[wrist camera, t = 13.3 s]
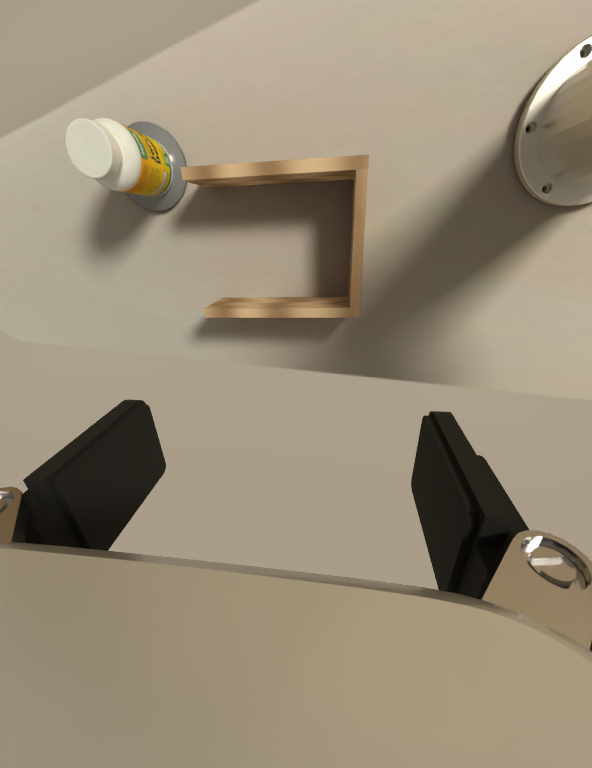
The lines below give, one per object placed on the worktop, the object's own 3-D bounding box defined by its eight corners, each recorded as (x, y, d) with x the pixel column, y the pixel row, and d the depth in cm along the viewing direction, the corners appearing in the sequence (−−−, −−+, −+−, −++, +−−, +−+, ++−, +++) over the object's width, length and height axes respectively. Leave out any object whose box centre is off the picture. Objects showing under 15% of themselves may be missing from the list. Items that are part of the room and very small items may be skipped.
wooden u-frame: (364, 167, 31) (368, 154, 26) (356, 305, 38) (359, 317, 32) (205, 177, 34) (180, 167, 28) (223, 305, 40) (205, 317, 35)
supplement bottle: (119, 169, 34) (45, 149, 25) (144, 124, 32) (72, 86, 23) (158, 208, 35) (100, 202, 27) (185, 168, 33) (130, 147, 25)
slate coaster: (179, 120, 32) (176, 118, 31) (193, 209, 35) (191, 209, 35) (108, 126, 33) (104, 124, 32) (129, 212, 36) (126, 212, 36)
